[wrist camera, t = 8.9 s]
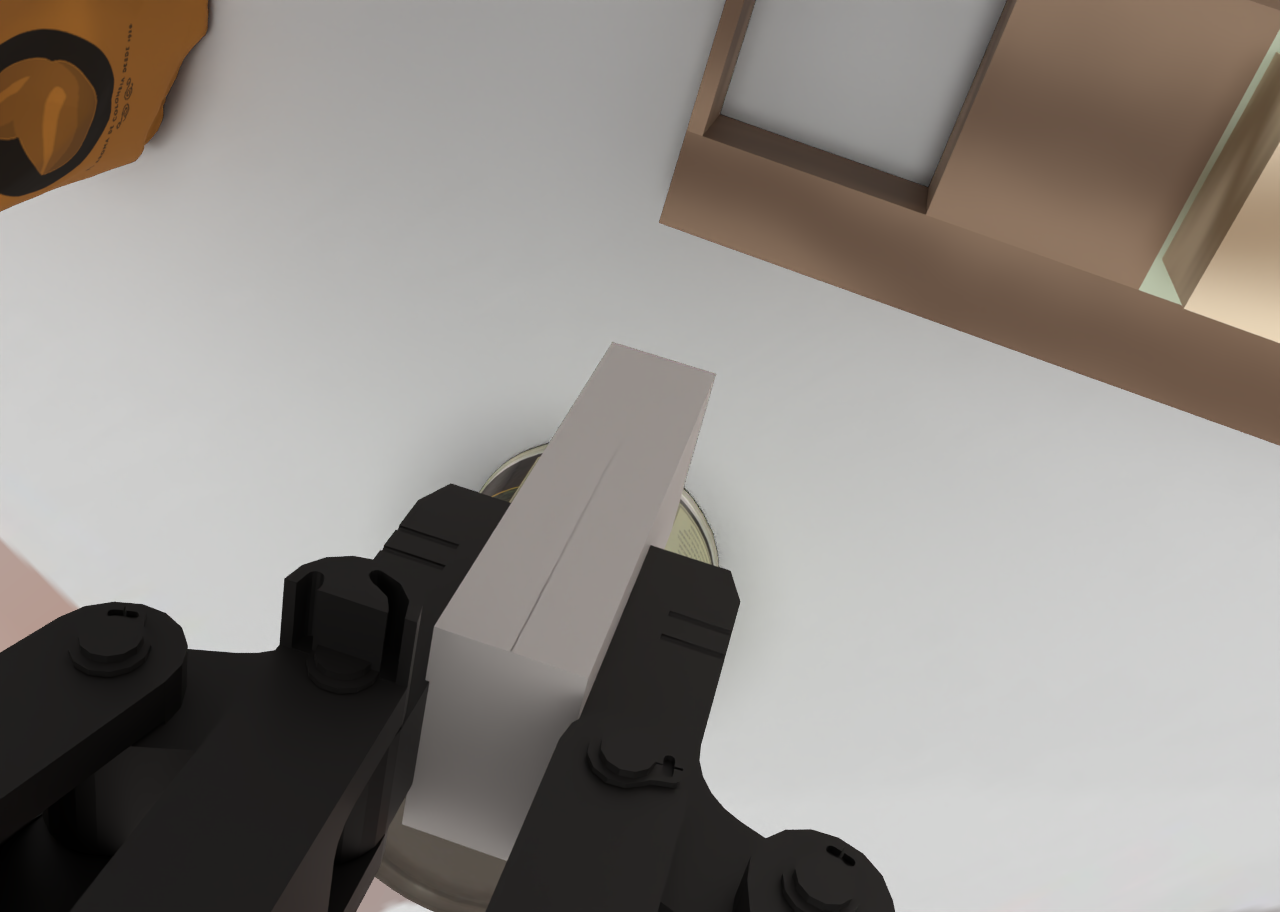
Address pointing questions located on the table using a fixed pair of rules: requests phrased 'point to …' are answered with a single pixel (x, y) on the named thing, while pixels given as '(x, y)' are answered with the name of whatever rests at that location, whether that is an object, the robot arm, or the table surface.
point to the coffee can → (456, 872)
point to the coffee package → (85, 85)
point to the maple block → (1237, 224)
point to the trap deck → (1025, 196)
